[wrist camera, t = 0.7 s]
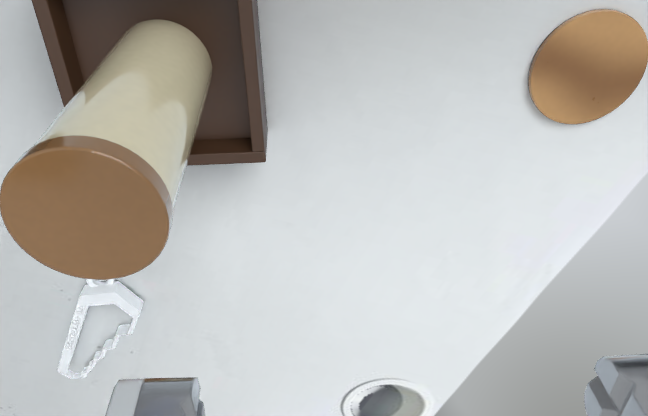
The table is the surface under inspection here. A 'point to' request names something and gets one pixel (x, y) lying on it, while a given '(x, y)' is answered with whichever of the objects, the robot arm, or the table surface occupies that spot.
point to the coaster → (588, 66)
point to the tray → (213, 31)
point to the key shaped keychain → (89, 296)
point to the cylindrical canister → (113, 158)
